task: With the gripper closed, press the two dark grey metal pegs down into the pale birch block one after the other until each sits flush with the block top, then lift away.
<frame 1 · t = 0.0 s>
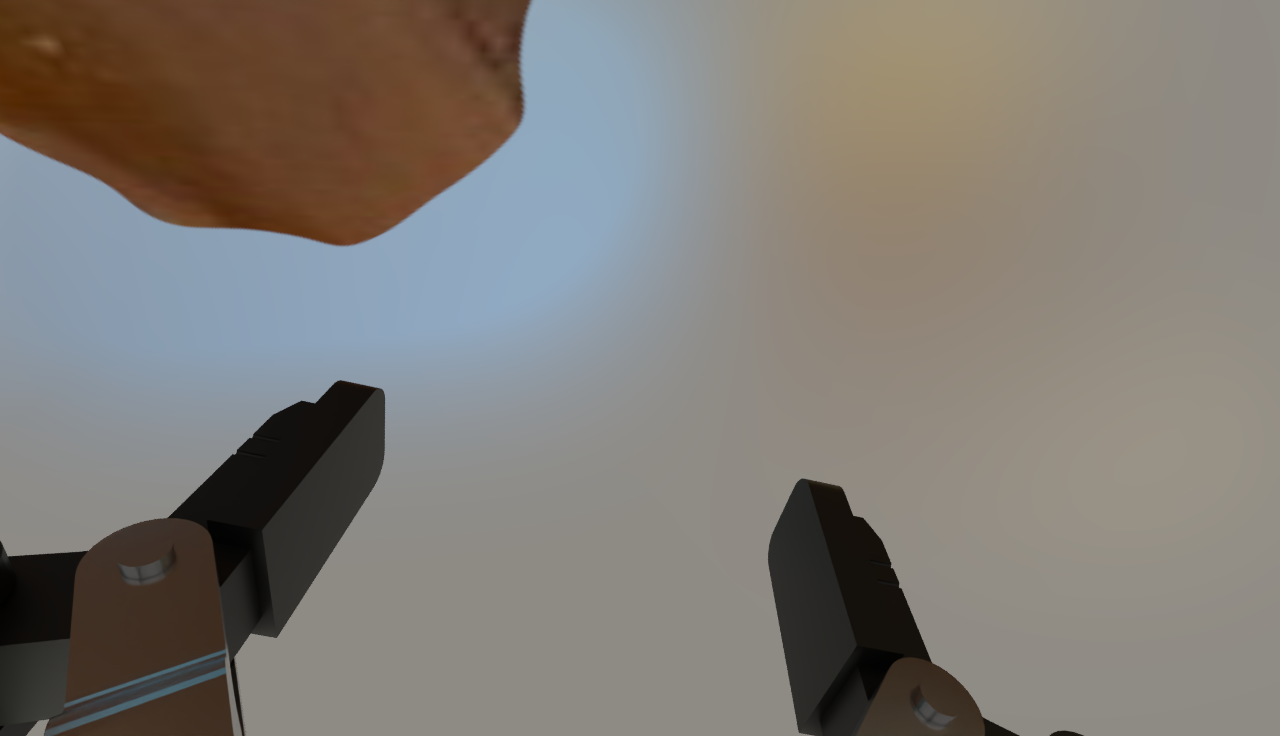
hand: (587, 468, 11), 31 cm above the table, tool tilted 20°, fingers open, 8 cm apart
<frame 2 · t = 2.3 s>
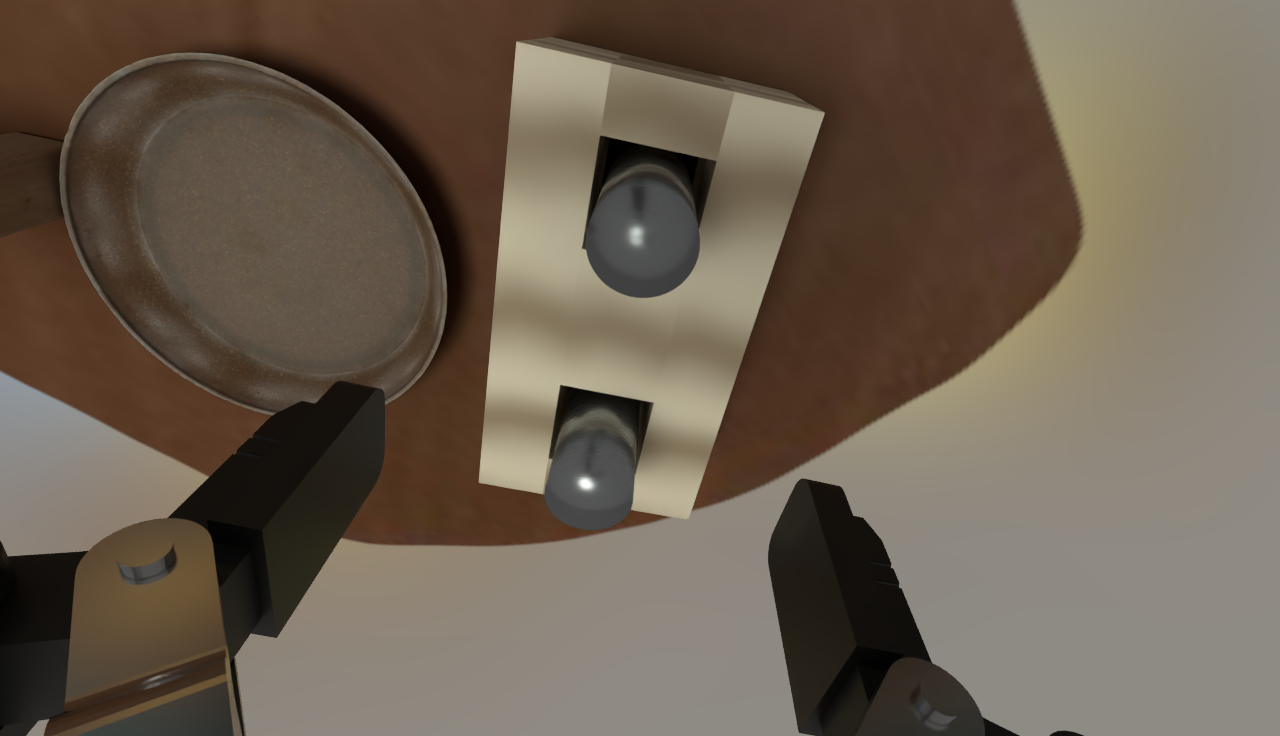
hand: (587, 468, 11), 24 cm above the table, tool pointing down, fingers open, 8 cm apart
outer peg: (597, 445, 30), point 9 cm above the table, slide at 0.0 cm
inner peg: (645, 214, 24), point 9 cm above the table, slide at 0.0 cm
plant saucer: (292, 245, 35), on the table
birch block: (629, 270, 35), on the table
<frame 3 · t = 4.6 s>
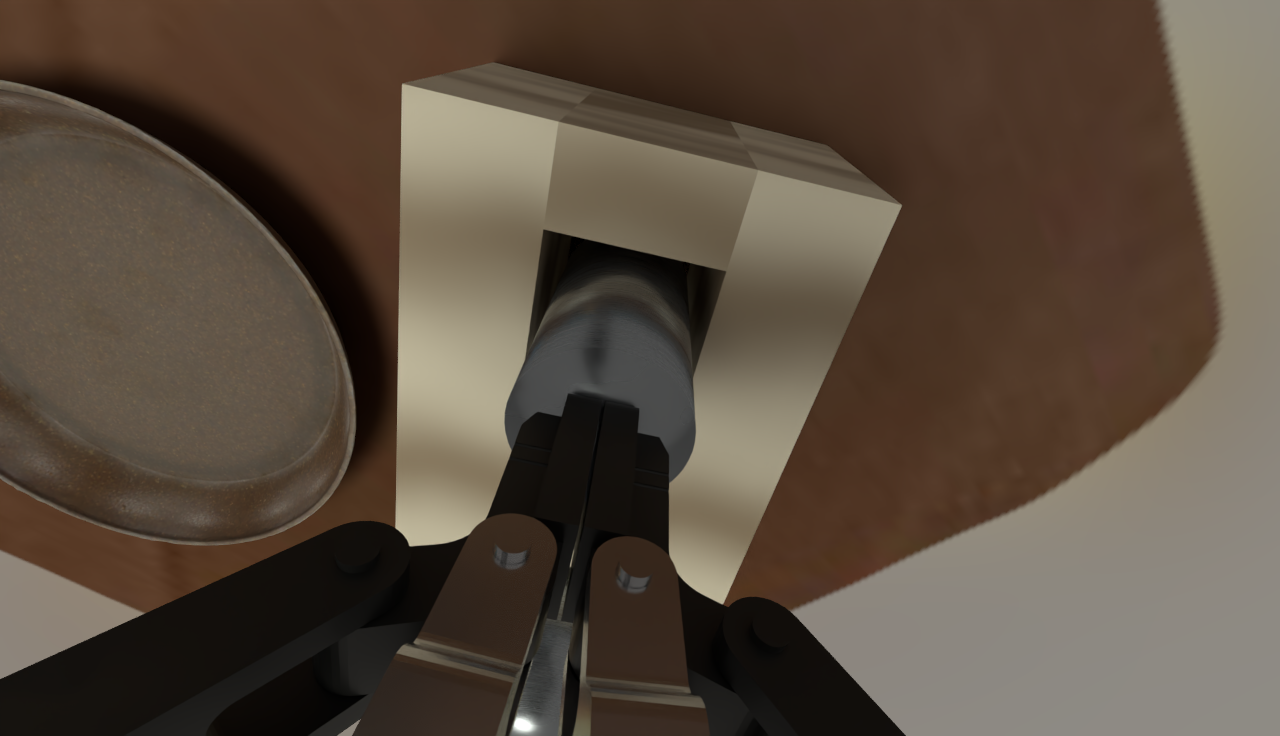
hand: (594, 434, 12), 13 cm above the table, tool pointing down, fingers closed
outer peg: (549, 635, 21), point 9 cm above the table, slide at 0.0 cm
inner peg: (615, 345, 16), point 9 cm above the table, slide at 0.4 cm, touching gripper
plant saucer: (160, 324, 27), on the table
birch block: (605, 368, 26), on the table
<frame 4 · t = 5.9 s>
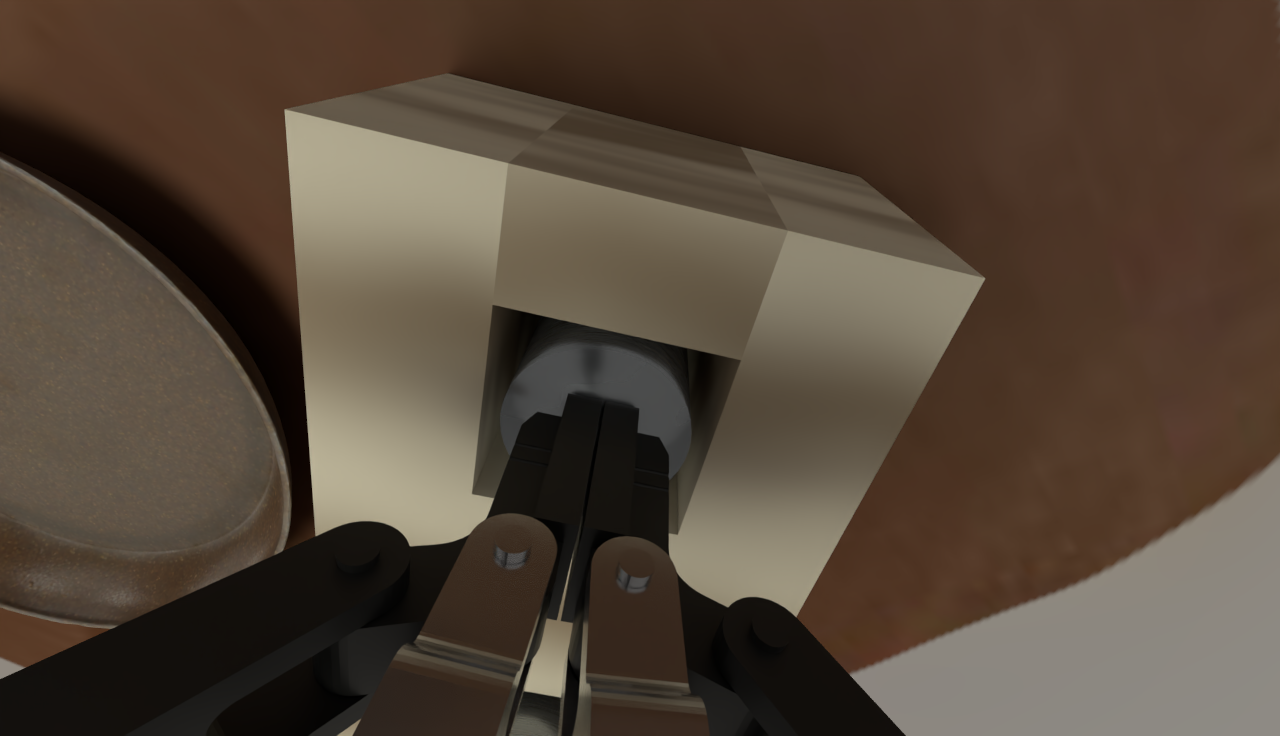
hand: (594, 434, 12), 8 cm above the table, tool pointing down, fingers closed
inner peg: (611, 346, 16), point 4 cm above the table, slide at 5.0 cm, touching gripper
plant saucer: (66, 377, 23), on the table
birch block: (589, 431, 22), on the table
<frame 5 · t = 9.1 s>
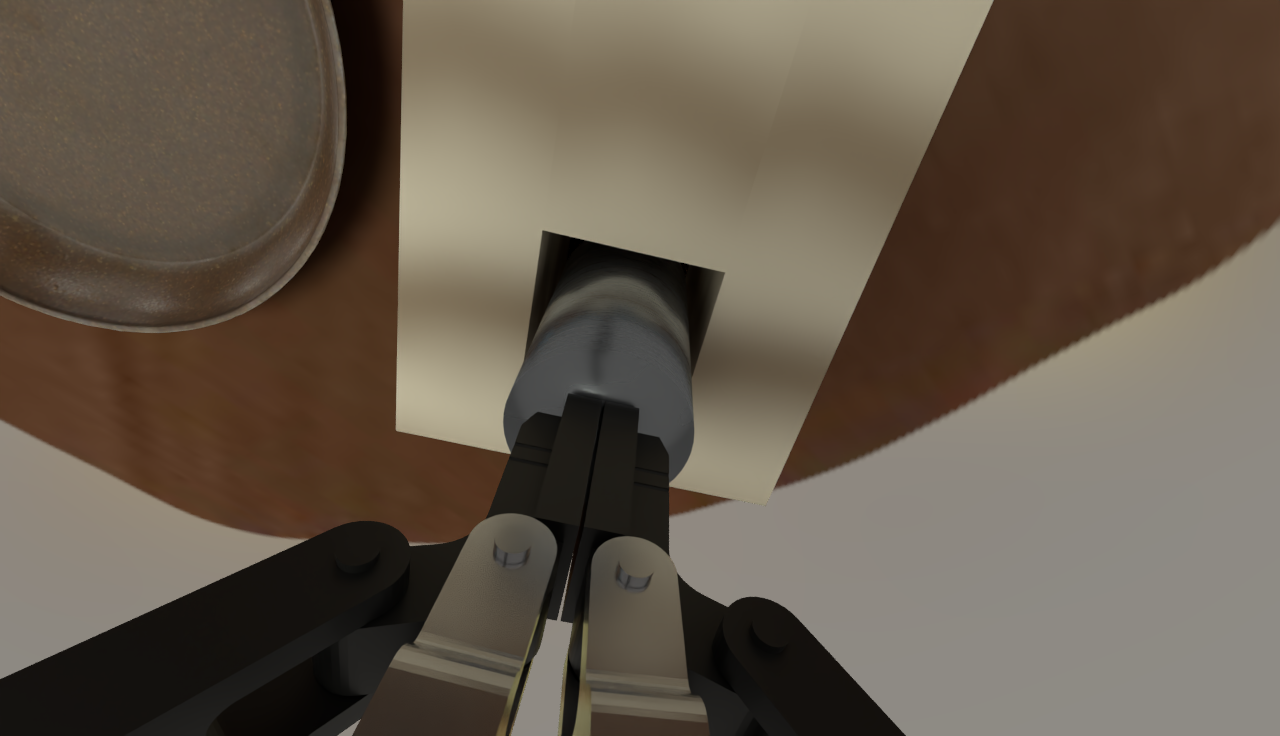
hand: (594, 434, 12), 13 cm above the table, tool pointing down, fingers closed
outer peg: (613, 346, 16), point 9 cm above the table, slide at 0.4 cm, touching gripper
plant saucer: (95, 25, 21), on the table
birch block: (670, 75, 20), on the table
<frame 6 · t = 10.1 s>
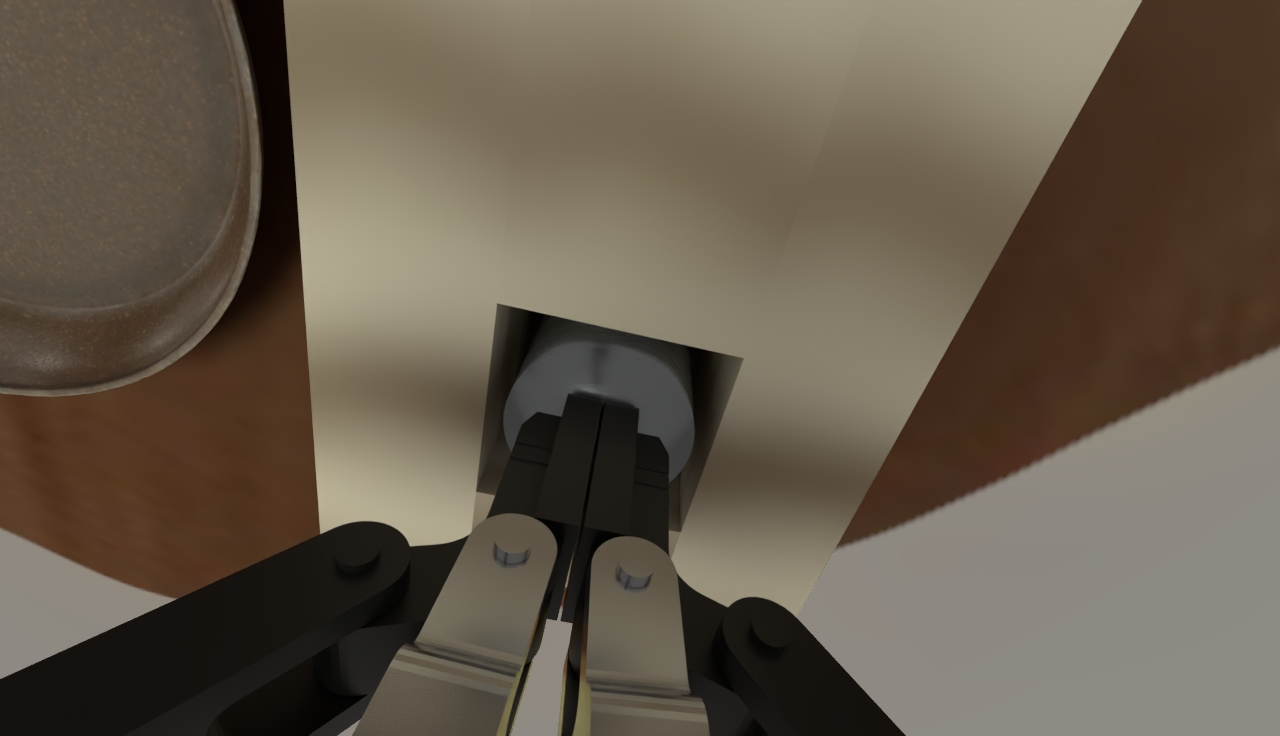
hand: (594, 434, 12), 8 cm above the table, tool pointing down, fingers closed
outer peg: (614, 346, 16), point 4 cm above the table, slide at 4.9 cm, touching gripper
birch block: (670, 87, 16), on the table
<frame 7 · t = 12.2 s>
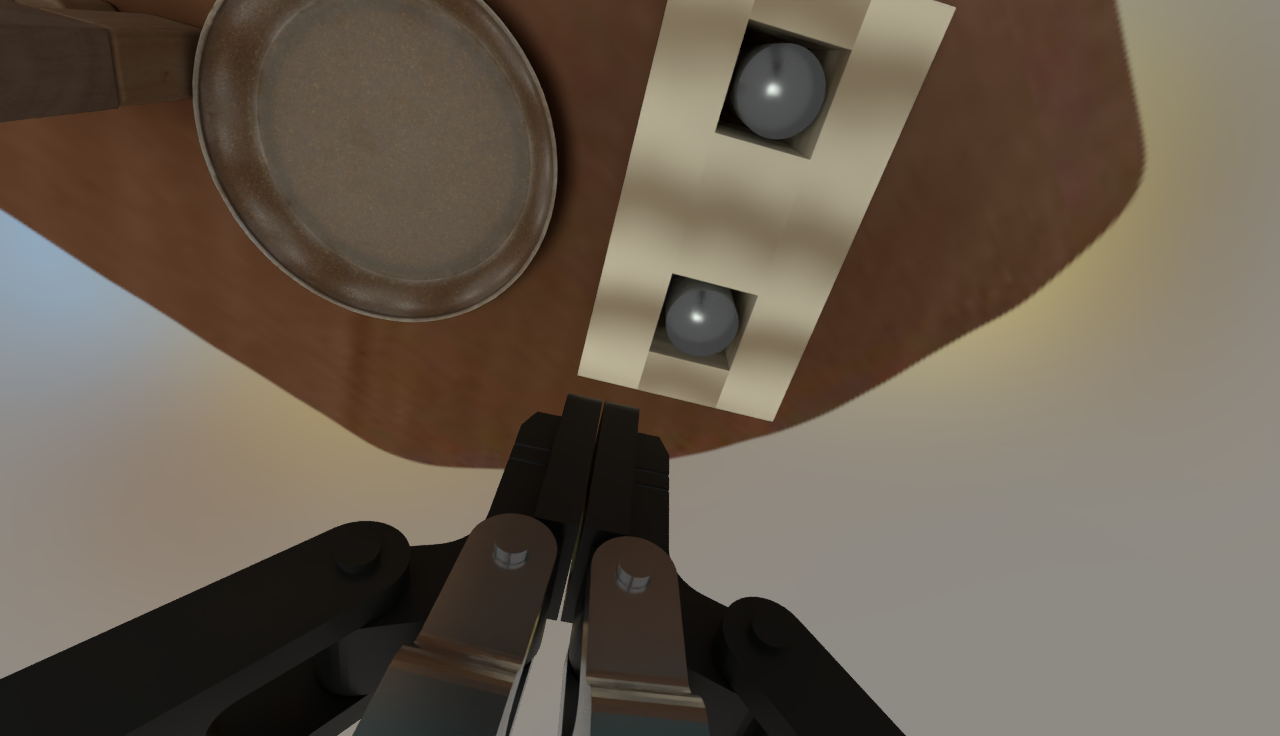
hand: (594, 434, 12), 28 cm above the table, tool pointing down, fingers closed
outer peg: (698, 298, 36), point 4 cm above the table, slide at 5.0 cm
inner peg: (767, 87, 30), point 4 cm above the table, slide at 5.0 cm
plant saucer: (400, 147, 37), on the table
birch block: (722, 186, 37), on the table
wooden block: (121, 37, 34), on the table
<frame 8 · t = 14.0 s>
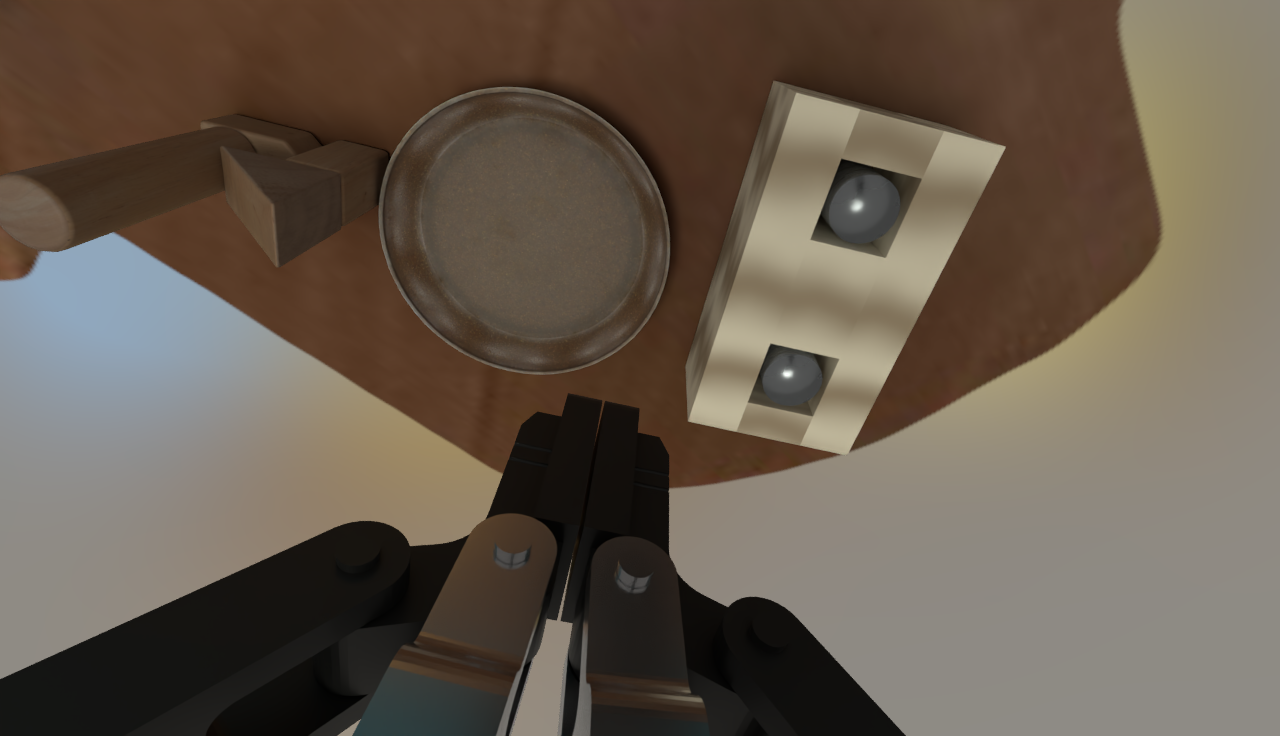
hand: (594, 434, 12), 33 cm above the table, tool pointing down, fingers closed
outer peg: (783, 354, 44), point 4 cm above the table, slide at 5.0 cm
inner peg: (847, 193, 38), point 4 cm above the table, slide at 5.0 cm
plant saucer: (533, 233, 45), on the table
birch block: (801, 259, 44), on the table
wooden block: (315, 156, 42), on the table
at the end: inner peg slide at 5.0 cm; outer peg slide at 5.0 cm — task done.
